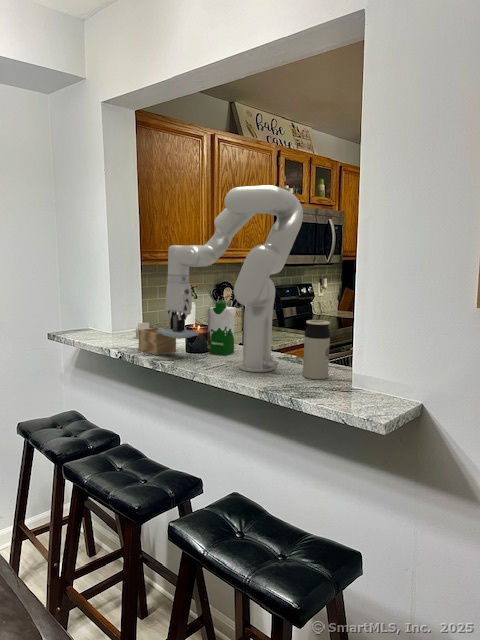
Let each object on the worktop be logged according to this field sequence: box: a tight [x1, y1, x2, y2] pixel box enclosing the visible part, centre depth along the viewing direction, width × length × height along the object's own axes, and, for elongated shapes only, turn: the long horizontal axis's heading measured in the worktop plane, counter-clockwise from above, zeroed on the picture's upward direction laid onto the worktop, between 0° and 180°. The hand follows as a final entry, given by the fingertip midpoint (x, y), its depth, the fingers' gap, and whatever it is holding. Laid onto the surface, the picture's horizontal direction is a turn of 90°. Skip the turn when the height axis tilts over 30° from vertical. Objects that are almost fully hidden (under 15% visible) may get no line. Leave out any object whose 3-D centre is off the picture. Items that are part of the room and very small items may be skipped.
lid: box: [156, 313, 199, 340], centre depth 173 cm, size 13×10×8 cm
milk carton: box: [209, 301, 237, 357], centre depth 183 cm, size 9×9×20 cm
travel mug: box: [302, 319, 331, 381], centre depth 151 cm, size 8×8×18 cm
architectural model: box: [133, 321, 150, 340], centre depth 212 cm, size 3×7×7 cm, turn 133°
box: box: [138, 327, 177, 356], centre depth 184 cm, size 12×9×8 cm
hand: (177, 329), depth 173 cm, fingers closed on lid, 3 cm apart
